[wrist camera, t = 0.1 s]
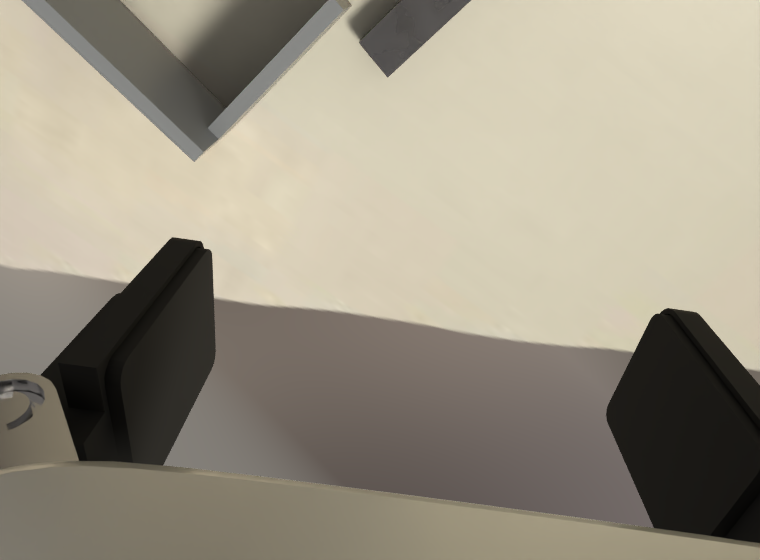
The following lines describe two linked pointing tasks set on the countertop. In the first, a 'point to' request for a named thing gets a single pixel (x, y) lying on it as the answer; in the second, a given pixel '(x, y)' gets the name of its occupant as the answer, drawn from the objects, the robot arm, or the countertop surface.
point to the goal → (168, 67)
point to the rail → (407, 30)
